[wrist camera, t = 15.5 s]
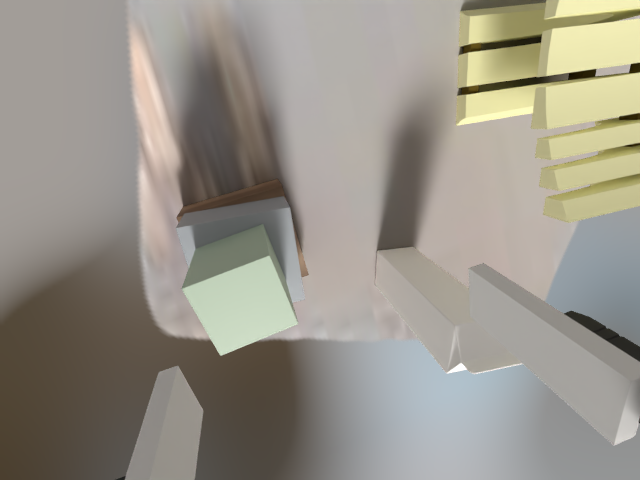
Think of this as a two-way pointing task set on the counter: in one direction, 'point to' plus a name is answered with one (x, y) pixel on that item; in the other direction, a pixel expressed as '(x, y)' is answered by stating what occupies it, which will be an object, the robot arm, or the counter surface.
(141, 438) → the robot arm
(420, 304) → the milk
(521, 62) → the slatted curved stool
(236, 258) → the sage block
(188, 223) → the tower top
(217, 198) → the tower base
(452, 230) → the counter surface
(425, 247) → the counter surface
